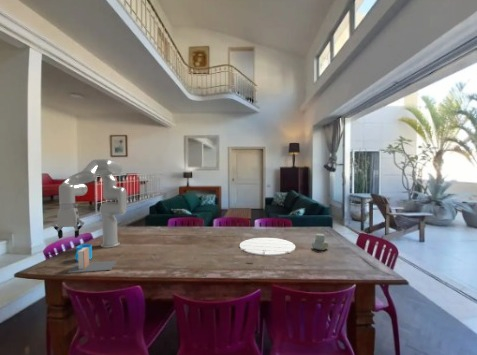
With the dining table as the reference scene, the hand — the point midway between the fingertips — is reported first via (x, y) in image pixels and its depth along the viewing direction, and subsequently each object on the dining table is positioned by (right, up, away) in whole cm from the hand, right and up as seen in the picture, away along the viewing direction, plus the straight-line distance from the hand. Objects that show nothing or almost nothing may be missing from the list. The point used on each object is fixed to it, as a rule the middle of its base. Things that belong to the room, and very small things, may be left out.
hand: (68, 237), depth 152 cm
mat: (+12, -18, +3) cm, 22 cm away
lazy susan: (+116, -16, +39) cm, 123 cm away
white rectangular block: (+7, -17, +2) cm, 19 cm away
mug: (-1, -17, +15) cm, 23 cm away
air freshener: (+151, -15, +33) cm, 156 cm away
